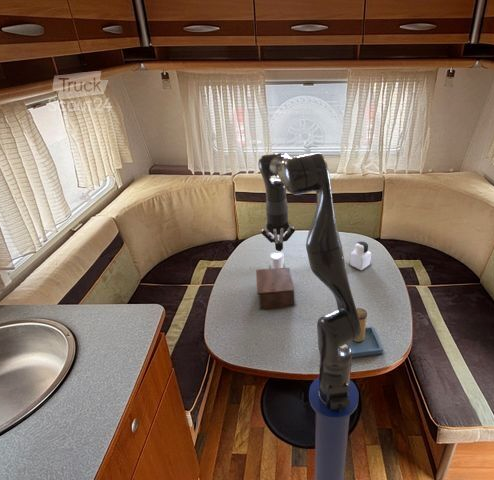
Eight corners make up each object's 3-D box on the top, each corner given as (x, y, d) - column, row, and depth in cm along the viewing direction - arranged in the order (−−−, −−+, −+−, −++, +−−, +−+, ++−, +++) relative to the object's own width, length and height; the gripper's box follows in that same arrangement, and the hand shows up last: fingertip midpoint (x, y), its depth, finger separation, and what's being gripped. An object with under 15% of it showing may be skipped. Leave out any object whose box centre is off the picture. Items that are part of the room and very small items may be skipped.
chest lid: (257, 294, 143) (257, 292, 143) (256, 271, 156) (256, 269, 156) (293, 291, 145) (293, 290, 144) (289, 268, 158) (289, 267, 158)
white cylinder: (281, 262, 176) (280, 250, 172) (286, 269, 170) (286, 257, 167) (267, 265, 173) (267, 253, 169) (273, 273, 168) (272, 261, 164)
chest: (261, 308, 147) (259, 295, 143) (259, 285, 160) (258, 271, 157) (294, 305, 149) (293, 291, 145) (290, 282, 162) (289, 268, 158)
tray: (382, 353, 127) (382, 349, 126) (339, 359, 125) (339, 355, 124) (372, 329, 137) (372, 325, 136) (332, 334, 135) (332, 330, 134)
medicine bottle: (358, 258, 177) (360, 238, 171) (370, 264, 173) (372, 243, 167) (349, 264, 173) (351, 243, 167) (361, 270, 169) (363, 249, 162)
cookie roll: (359, 345, 129) (362, 320, 123) (347, 338, 132) (349, 313, 126) (367, 337, 133) (370, 312, 126) (355, 330, 136) (358, 306, 129)
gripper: (294, 203, 130) (295, 243, 140) (257, 206, 129) (261, 246, 138) (296, 212, 124) (297, 254, 133) (258, 215, 123) (262, 257, 132)
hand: (279, 250), depth 136 cm, fingers closed
